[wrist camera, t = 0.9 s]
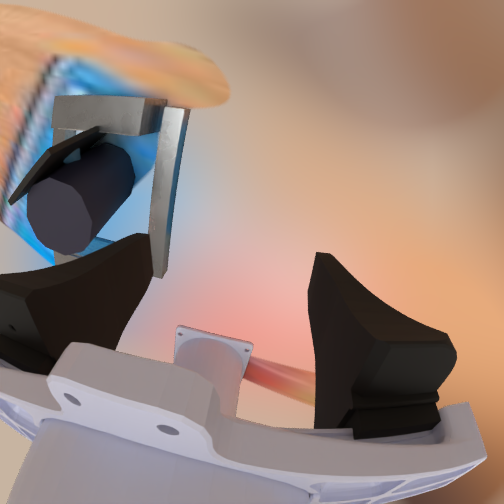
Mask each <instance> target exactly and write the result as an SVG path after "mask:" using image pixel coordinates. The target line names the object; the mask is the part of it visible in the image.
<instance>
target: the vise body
mask: <svg viewBox="0 0 504 504" xmlns="http://www.w3.org/2000/svg"><path fill="white" fill-rule="evenodd" d="M166 103H167V100H164V99H154V98H143V97H130V96H111V95H65V96H55V99H54V107H53V115H52V125H51V128H54V131H53V145H52V146H54V145H56V144H58V143H60V142H62V141H64V140H66V139H69V138H71V137H73V136H75V130H81V131H86V130H88V129H90V128H93V127H95V126H98V128H99V129H100V130H99V132H103V133H113V134H121V135H130V136H141V135H145V134H150V133H154V132H159V131H160V136H159V143H158V149H157V156H156V163H155V171H154V179H153V187H152V197H151V206H150V217H149V230H148V234H150V243H151V253H152V263H153V271H154V274H153V276H154V277H157V278H161V279H162V278H163V276H164V274H165V273H166V271H167V267H168V256H169V246H170V237H171V228H172V219H173V212H174V204H175V196H176V189H177V182H178V176H179V170H180V164H181V158H182V152H183V146H184V140H185V135H186V130H187V125H188V119H189V115H190V110H191V109H184V108H177V107H166Z"/></svg>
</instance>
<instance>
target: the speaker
mask: <svg viewBox="0 0 504 504" xmlns="http://www.w3.org/2000/svg"><path fill="white" fill-rule="evenodd" d="M99 130H100V129H99V128H98V126H95V127H93V128H90V129H88V130H86V131H84V132H81V133H79V134H77V135H75V136H73V137H71V138H69V139H66V140H64V141H62V142H60V143H58V144H56V145H54V146H52V147H50V148H49V149H47V150H46V151H45V152H44V154H43V155H42V156H41V157H40V158H39V160H38V161H37V162H36V163H35V165H34V166H33V167H32V168H31V170H30V171H29V172H28V174H27V175H26V176H25V178H24V179H23V180H22V182H21V183H20V184H19V186H18V187H17V189H16V190H15V191H14V193H13V194H12V196H11V197H10V199H9V200H8V202H9V204H10V205H13V204H14V203H15V202H16V201H18V200H19V199H20V198H22V197H23V196H24V195H26V194H27V193H28V194H27V218H28V220H29V223H30V225H31V227H32V229H33V231H34V233H35V235H36V237H37V239H38V240H39V241H40V242H41V243H42V244H43V245H44V246H45V247H47V248H49V249H52V250H54V251H56V252H58V253H60V254H63V255H65V256H66V255H70V254H74V253H79V252H83V251H84V250H85V249H86V247H87V246H88V245H89V244H90V243H91V241H92V240H93V239H94V238H95V236H96V235H97V234H98V233H99V231H100V230H101V229H102V227H103V226H104V225H105V224H106V223H107V221H108V220H109V219H110V218H111V216H112V215H113V214H114V213H115V212H116V211H117V210H118V208H119V207H120V206H121V205H122V204H123V203H124V201H125V200H126V199H127V198H128V197H129V196H130V195H131V193H132V190H131V189H132V186H133V183H134V179H135V174H134V170H133V166H132V163H131V159H130V156H129V155H128V154H127V153H126V152H125V151H124V150H123V149H121V148H118V147H116V146H113V145H110V144H107V143H103V144H100V145H98V146H95V147H93V148H91V147H92V146H93V145H95V144H96V143H97V142H98V141H99V140H100V139H101V138H102V137H104V136H105V135H106V134H107V133H103V132H99Z"/></svg>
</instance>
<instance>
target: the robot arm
mask: <svg viewBox="0 0 504 504" xmlns="http://www.w3.org/2000/svg"><path fill="white" fill-rule="evenodd" d="M153 274H154V271H153V263H152V253H151V243H150V234H143V233H136V234H132V235H130V236H127V237H125V238H123V239H121V240H118V241H116V242H114V243H112V244H110V245H108V246H105V247H103V248H101V249H99V250H96V251H94V252H92V253H90V254H87V255H85V256H83V257H80V258H77V259H75V260H72V261H69V262H66V263H63V264H59V265H55V266H52V267H48V268H44V269H39V270H34V271H28V272H21V273H10V274H1V275H0V419H1V420H2V421H4V422H5V423H6V424H8V425H9V426H10V427H11V428H13V429H14V430H16V431H17V432H18V433H20V434H21V435H23V436H24V437H25V438H27V439H28V440H30V441H32V444H31V447H30V449H29V451H28V453H27V455H26V457H25V459H24V462H23V464H22V466H21V469H20V471H19V473H18V475H17V478H16V480H15V483H14V485H13V488H12V490H11V493H10V495H9V498H8V501H7V503H6V504H383V503H388V502H392V501H396V500H400V499H403V498H407V497H411V496H414V495H418V494H421V493H424V492H428V491H431V490H434V489H437V488H440V487H443V486H446V485H447V484H449V483H451V482H452V481H454V480H456V479H457V478H459V477H460V476H462V475H464V474H465V473H466V472H468V471H470V470H471V469H473V468H474V467H476V466H477V465H478V464H480V463H481V462H483V461H484V460H485V459H486V458H487V454H486V450H485V447H484V444H483V441H482V438H481V435H480V432H479V429H478V426H477V423H476V420H475V418H474V415H473V412H472V409H471V407H470V404H469V402H463V403H459V404H453V405H448V406H445V407H443V408H441V409H439V410H438V409H437V406H436V403H435V402H438V401H439V395H438V392H437V389H438V388H439V387H440V386H441V384H442V383H443V382H444V381H445V379H446V378H447V377H448V375H449V374H450V373H451V371H452V369H453V367H454V366H455V363H456V360H457V352H456V350H455V348H454V346H453V344H452V342H451V340H450V338H449V336H448V334H447V333H444V332H441V331H439V330H436V329H434V328H431V327H429V326H426V325H424V324H422V323H419V322H417V321H415V320H413V319H411V318H409V317H407V316H406V315H404V314H402V313H400V312H399V311H397V310H395V309H394V308H392V307H390V306H389V305H387V304H386V303H384V302H383V301H382V300H380V299H379V298H378V297H376V296H375V295H374V294H372V293H371V292H370V291H369V290H367V289H366V288H365V287H364V286H363V285H362V284H361V283H360V282H359V281H357V280H356V279H355V278H354V277H353V276H352V275H351V274H350V273H349V272H348V271H347V270H346V269H345V268H344V267H343V265H342V264H341V263H340V262H339V261H338V260H337V259H336V258H335V257H334V256H333V255H331V254H330V253H321V252H316V256H315V261H314V266H313V270H312V275H311V279H310V284H309V288H308V314H309V320H310V327H311V333H312V339H313V346H314V353H315V369H316V392H315V420H314V429H299V428H298V429H297V428H278V427H271V426H266V425H263V424H258V423H255V422H251V421H247V420H244V419H240V418H237V417H236V410H237V402H238V395H239V388H240V383H241V381H242V378H243V375H244V372H245V370H246V367H247V364H248V361H249V358H250V355H251V353H252V350H253V343H251V342H248V341H243V340H239V339H235V338H231V337H226V336H222V335H217V334H214V333H210V332H206V331H202V330H198V329H194V328H190V327H186V326H183V325H178V326H177V328H176V336H175V350H174V363H173V364H170V363H165V362H160V361H156V360H151V359H147V358H142V357H138V356H134V355H130V354H126V353H122V352H118V351H115V349H116V347H117V345H118V342H119V340H120V337H121V335H122V332H123V330H124V329H125V327H126V325H127V323H128V321H129V320H130V318H131V316H132V314H133V313H134V311H135V310H136V308H137V306H138V305H139V303H140V301H141V299H142V298H143V296H144V294H145V293H146V291H147V289H148V286H149V284H150V281H151V279H152V277H153ZM179 332H180V333H179ZM181 333H182V334H181ZM247 349H249V350H247Z"/></svg>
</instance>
